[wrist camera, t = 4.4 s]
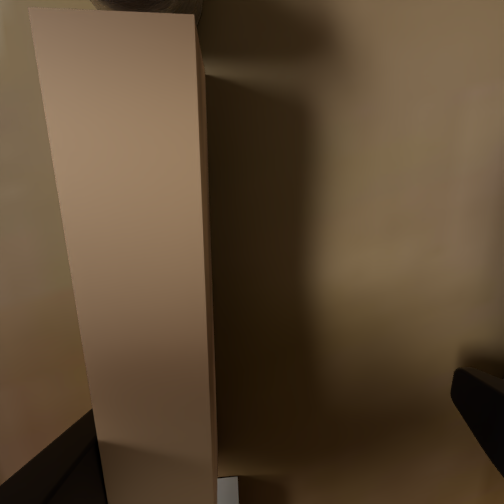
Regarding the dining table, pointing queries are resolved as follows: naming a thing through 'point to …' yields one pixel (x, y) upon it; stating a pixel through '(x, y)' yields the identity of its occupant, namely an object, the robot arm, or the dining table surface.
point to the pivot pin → (152, 6)
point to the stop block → (227, 490)
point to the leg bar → (137, 239)
